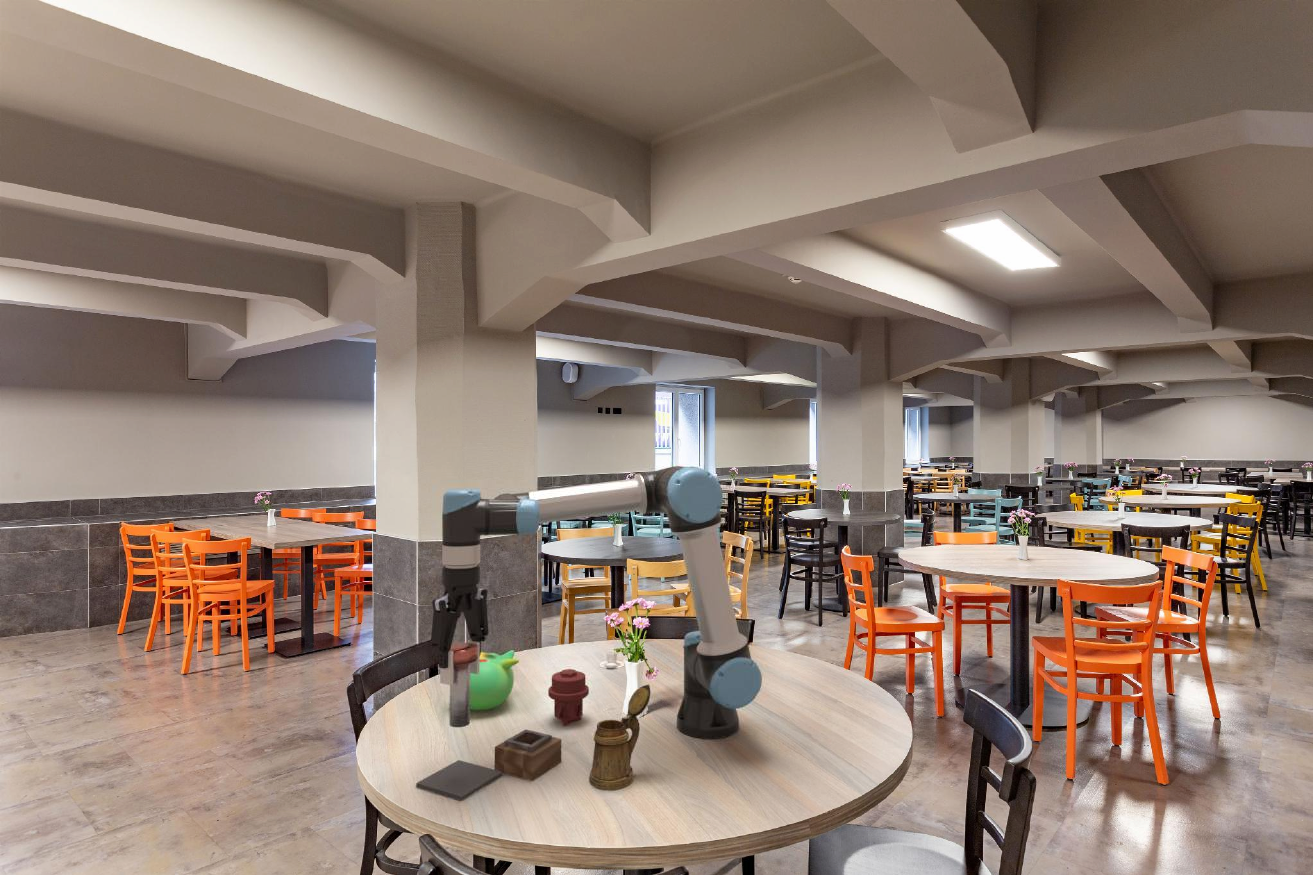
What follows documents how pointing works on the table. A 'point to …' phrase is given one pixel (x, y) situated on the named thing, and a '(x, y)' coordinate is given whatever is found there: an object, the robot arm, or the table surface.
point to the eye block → (528, 754)
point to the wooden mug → (617, 745)
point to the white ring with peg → (611, 661)
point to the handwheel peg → (461, 683)
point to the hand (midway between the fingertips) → (460, 677)
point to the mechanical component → (568, 695)
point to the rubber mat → (459, 780)
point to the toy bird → (492, 680)
